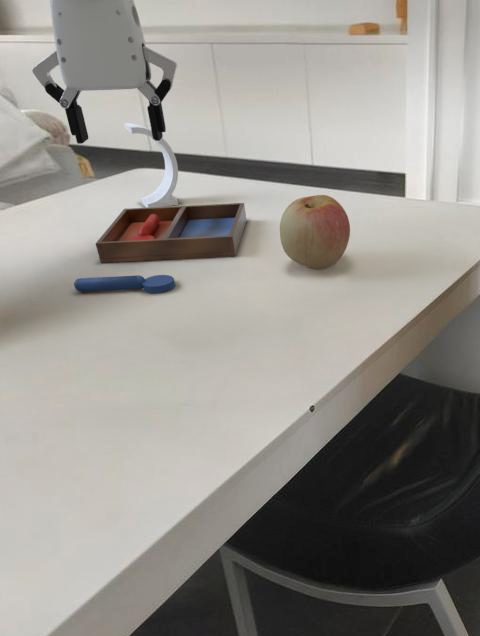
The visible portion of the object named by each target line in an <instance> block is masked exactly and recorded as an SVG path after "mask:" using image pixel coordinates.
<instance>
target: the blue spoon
mask: <svg viewBox="0 0 480 636" xmlns="http://www.w3.org/2000/svg"><path fill="white" fill-rule="evenodd" d="M73 287H74V289H75V290H76V291H77V292H79V293H89V292H92V293H93V292H109V291H128V290H129V291H130V290H131V291H132V290H142V289H143V291H144V292H145V293H147V294H163V293H167V292H169V291H170V292H171V291H172V290H173V289H175V287H176V281H175V277H173V276H172V275H170V274H156V275H151V276H148V277H146V278H145V277H144V276H142V275H140V274H139V275H138V274H136V275H119V276H118V275H117V276H116V275H115V276H99V277H98V276H95V277H79V278H76V279H75V280H74V282H73Z"/></svg>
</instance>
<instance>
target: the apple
mask: <svg viewBox="0 0 480 636" xmlns="http://www.w3.org/2000/svg"><path fill="white" fill-rule="evenodd" d="M350 235H351V225H350V220H349V217H348V214H347V212H346V210H345V209H344V207H343V206H342V205H341V203H340V202H339V201H337V200H336V199H335V198H334V197H331V196H330V195H328V194H327V195H326V194H317V195H309V196H304V197H303V196H302V197H300V198H298V199H295V200H294V201H292V202H291V203H289V204H288V206H287V207H286V208H285V210H284V211H283V213H282V215H281V218H280V223H279V237H280V243H281V244H280V245H281V246H282V249H283V251H284V253H285V254H286V256H287V257H288V258H289V259H290V260H292V261H293V262H295V263H296V264H298V265H300V266H303V267H306V268H309V269H315V270H326V269H329V268H331V267H332V266H334V265H336V263H337V262H339V261H340V259H341V258H342V257H343V256H344V254H345V252H346V250H347V248H348V244H349V242H350V241H349V240H350Z"/></svg>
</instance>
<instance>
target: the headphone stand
mask: <svg viewBox="0 0 480 636" xmlns="http://www.w3.org/2000/svg"><path fill="white" fill-rule="evenodd" d="M123 126H124V130H126V131H127V132H128V133H131V134H138V135H139V134H141V135H146V136H148V137H150V138H151V139H152V140H153V136H152V130H151V128H148V127H146V126H144V125H142V124H138V123H134V122H123ZM153 141H154V142H155V143H156V144H157V147H159V149H160V151H161V153H162V156H163V161H164V173H163V174H164V175H163V178H162V180H161V183H160V184H159V186H158V187H157V188H156V189H155V190H154V191H153V192H152V193H150V194H148V195H147V196H143V197H140V202H141V203H140V204H142V206H143V207H144V208H150V207H170V206H180V205H179V199H178V198H177V197H175V196H174V195H173V194H174V191H175V190H176V187H177V184H178V179H179V165H178V162H177V161H178V160H177V157H176V155H175V152H174V151H173V149H172V147H171V145H169V143H168V142H167V141H166V140H165V139H164V137H162V138H161V139H160V141H155V140H153Z"/></svg>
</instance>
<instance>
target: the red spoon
mask: <svg viewBox="0 0 480 636" xmlns="http://www.w3.org/2000/svg"><path fill="white" fill-rule="evenodd" d="M159 222H160V219H159V217H158V216H157V215H156V214H151V215H150V216H149V217H148V219H147V220H146V222H145V223H144V224H143V226H142V227H141V229H140V230H139V232H138V236H134V237H131V238H129V239H127V240H126V241H130V240H150V239H155V238H154V237H153V236H151V235H152V233H153V232H154V230H155V229H156V227H157V226H158V224H159Z"/></svg>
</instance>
